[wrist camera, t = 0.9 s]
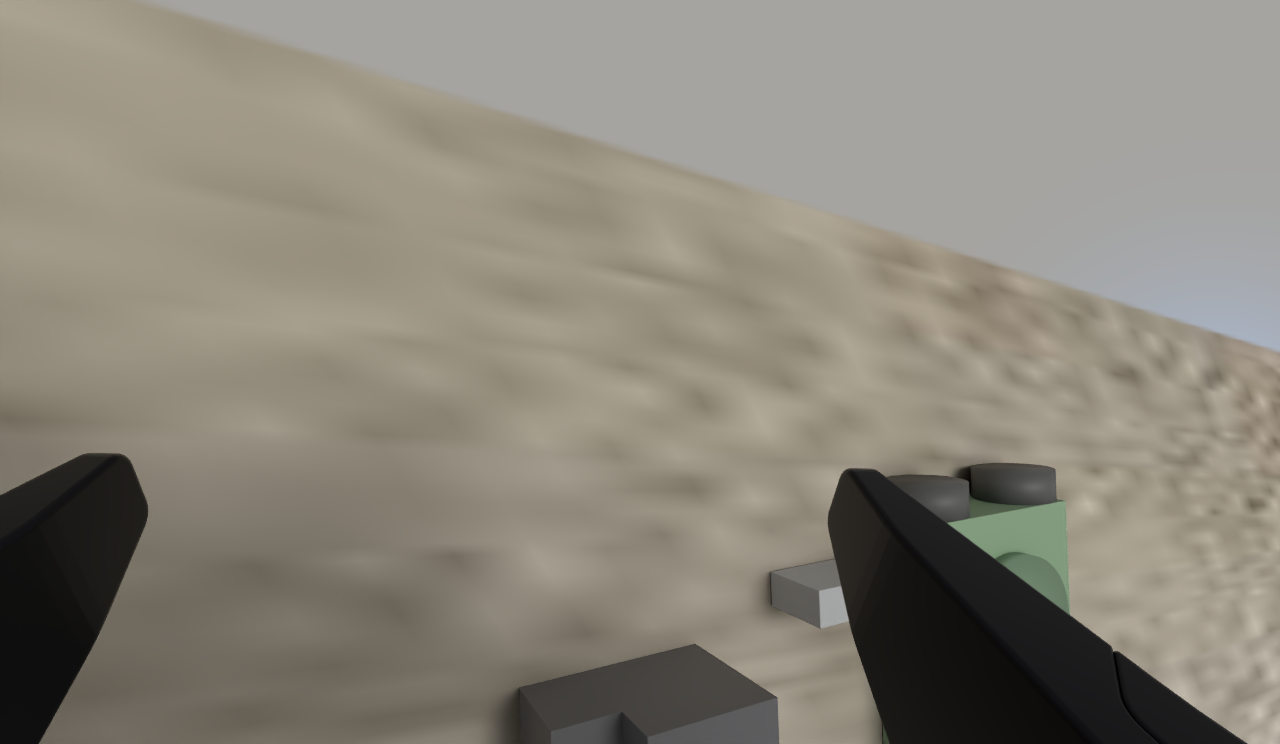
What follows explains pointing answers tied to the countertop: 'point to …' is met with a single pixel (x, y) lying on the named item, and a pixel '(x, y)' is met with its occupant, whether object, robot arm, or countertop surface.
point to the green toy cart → (990, 517)
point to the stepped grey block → (651, 704)
